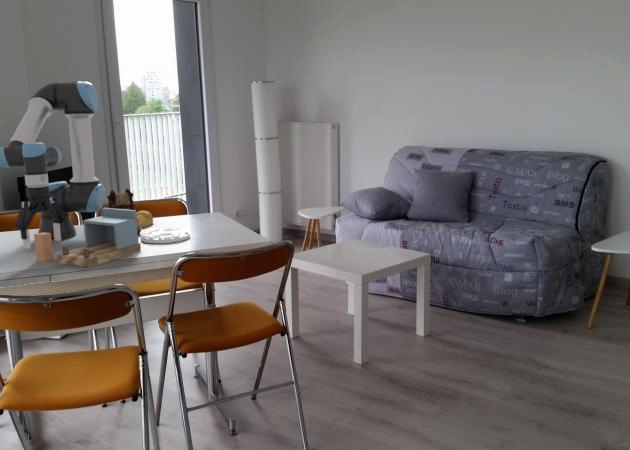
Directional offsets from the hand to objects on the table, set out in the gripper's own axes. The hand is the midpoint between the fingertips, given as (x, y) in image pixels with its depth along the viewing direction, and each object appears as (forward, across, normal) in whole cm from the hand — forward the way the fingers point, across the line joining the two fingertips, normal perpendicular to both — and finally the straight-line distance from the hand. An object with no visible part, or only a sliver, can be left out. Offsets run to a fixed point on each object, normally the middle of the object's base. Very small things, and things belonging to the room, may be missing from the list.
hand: (43, 244), depth 229 cm
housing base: (+6, +12, -15) cm, 20 cm away
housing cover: (+3, +19, -15) cm, 24 cm away
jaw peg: (+6, 0, 0) cm, 6 cm away
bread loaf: (+5, +66, +12) cm, 68 cm away
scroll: (+6, +44, +3) cm, 45 cm away
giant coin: (+6, +46, -18) cm, 50 cm away
